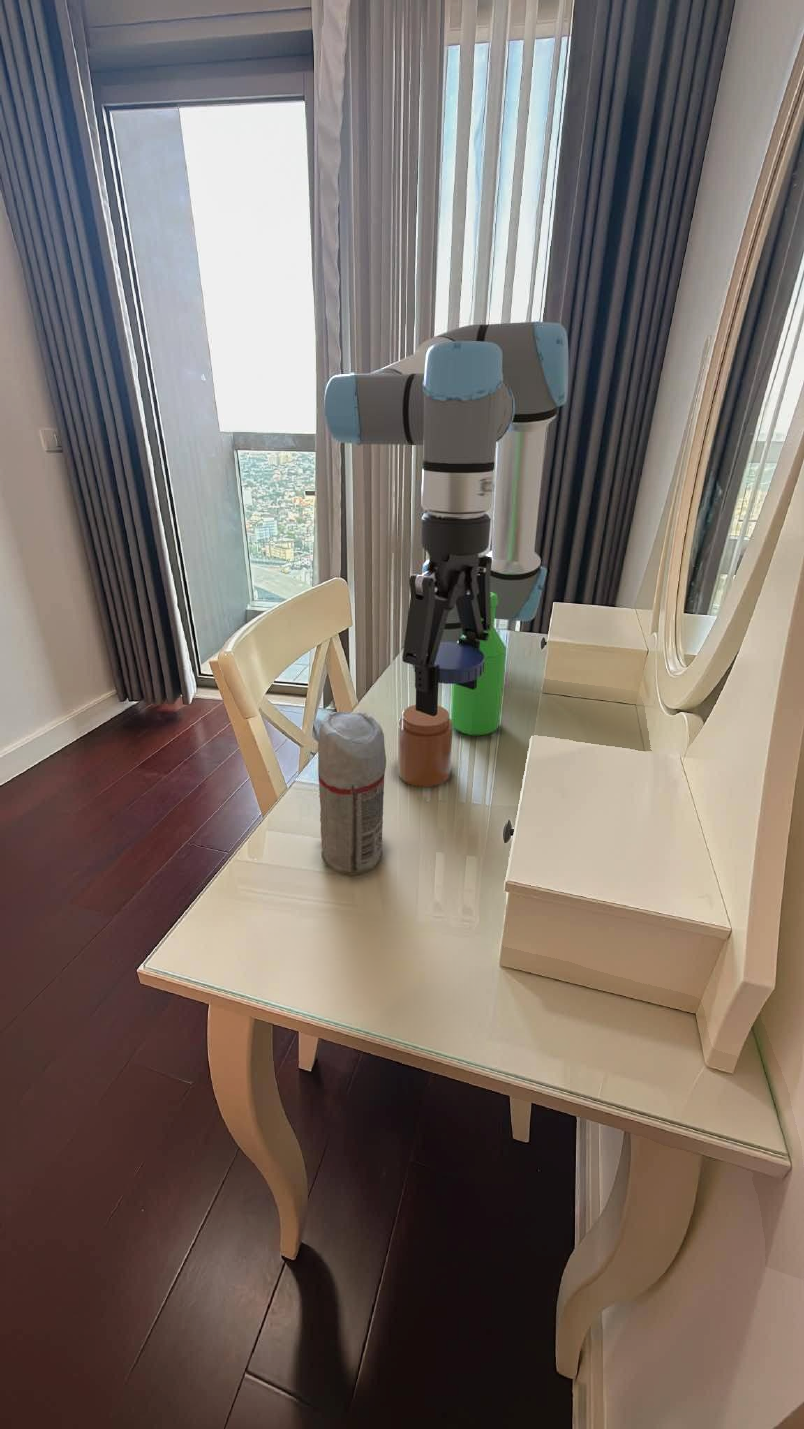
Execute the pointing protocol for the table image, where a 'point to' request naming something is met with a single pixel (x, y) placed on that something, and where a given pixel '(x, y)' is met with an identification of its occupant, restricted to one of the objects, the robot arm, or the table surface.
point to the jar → (424, 747)
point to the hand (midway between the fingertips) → (447, 698)
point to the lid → (458, 663)
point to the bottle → (482, 688)
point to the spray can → (351, 791)
